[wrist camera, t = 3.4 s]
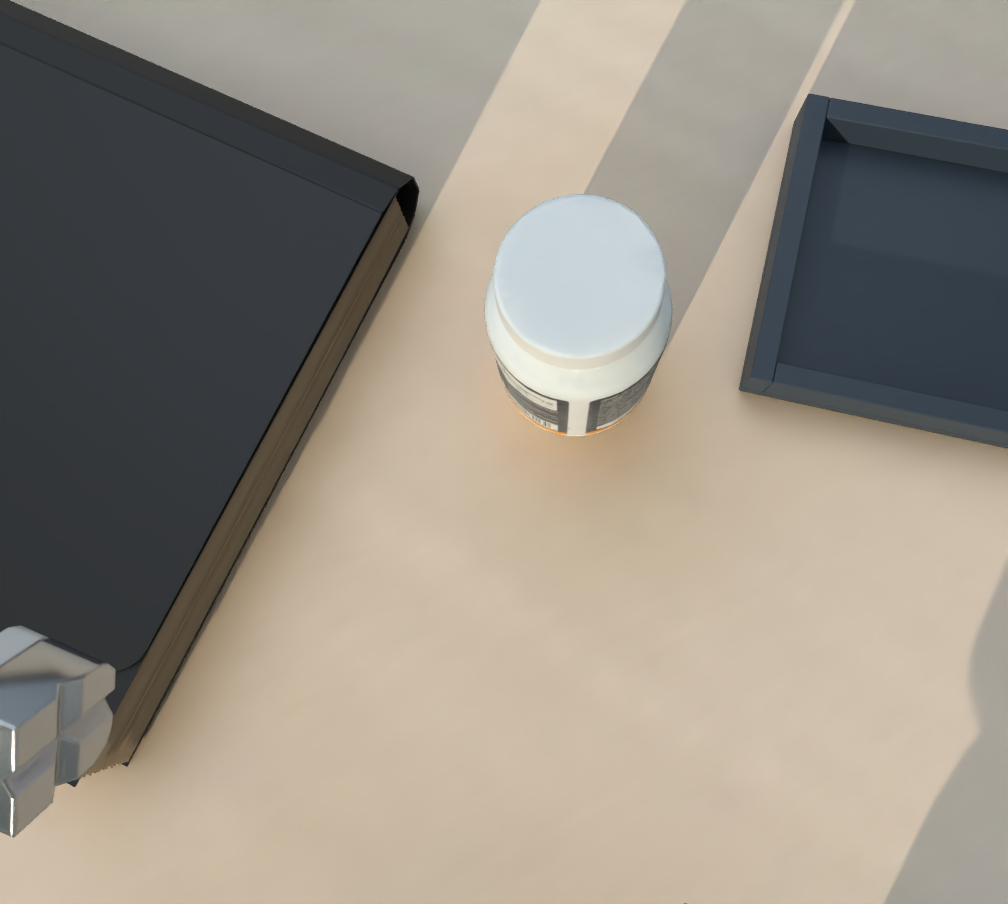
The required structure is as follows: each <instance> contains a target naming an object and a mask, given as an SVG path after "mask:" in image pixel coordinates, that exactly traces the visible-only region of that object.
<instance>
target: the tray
mask: <svg viewBox="0 0 1008 904" xmlns="http://www.w3.org/2000/svg"><path fill="white" fill-rule="evenodd" d="M739 390H740V391H744V392H749V393H754V394H758V395H763V396H768V397H772V398H777V399H781V400H786V401H791V402H795V403H800V404H805V405H809V406H814V407H819V408H823V409H828V410H832V411H837V412H842V413H846V414H851V415H856V416H860V417H865V418H869V419H874V420H879V421H883V422H888V423H893V424H897V425H902V426H906V427H911V428H916V429H920V430H925V431H930V432H934V433H939V434H943V435H948V436H953V437H957V438H962V439H967V440H971V441H976V442H980V443H985V444H990V445H994V446H999V447H1004V448H1008V130H1005V129H1000V128H994V127H989V126H983V125H978V124H972V123H967V122H961V121H956V120H950V119H945V118H939V117H934V116H928V115H923V114H917V113H912V112H906V111H901V110H895V109H890V108H884V107H879V106H873V105H868V104H862V103H857V102H851V101H845V100H840V99H834V98H830V99H829V97H825V96H819V95H814V94H808V96H807V98H806V99H805V101H804V103H803V105H802V107H801V109H800V111H799V113H798V115H797V117H796V119H795V121H794V125H793V129H792V134H791V139H790V144H789V149H788V154H787V159H786V163H785V168H784V173H783V178H782V183H781V188H780V192H779V197H778V202H777V207H776V212H775V217H774V222H773V226H772V231H771V236H770V241H769V246H768V251H767V256H766V260H765V265H764V270H763V275H762V280H761V285H760V290H759V294H758V299H757V304H756V309H755V314H754V319H753V324H752V328H751V333H750V338H749V343H748V348H747V353H746V358H745V362H744V367H743V372H742V377H741V382H740V387H739Z"/></svg>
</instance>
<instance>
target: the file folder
mask: <svg viewBox="0 0 1008 904" xmlns="http://www.w3.org/2000/svg"><path fill="white" fill-rule="evenodd" d="M418 195H419V187H418V185H417V183H416V181H415V179H414V177H412V176H410V175H408V174H406V173H403V172H401V171H399V170H396V169H394V168H392V167H390V166H387V165H385V164H383V163H380V162H378V161H376V160H374V159H371V158H369V157H367V156H364V155H362V154H360V153H358V152H355V151H353V150H351V149H348V148H346V147H344V146H341V145H339V144H337V143H335V142H332V141H330V140H328V139H325V138H323V137H321V136H319V135H316V134H314V133H312V132H309V131H307V130H305V129H303V128H300V127H298V126H296V125H293V124H291V123H289V122H287V121H284V120H282V119H280V118H277V117H275V116H273V115H271V114H268V113H266V112H264V111H261V110H259V109H257V108H254V107H252V106H250V105H248V104H245V103H243V102H241V101H238V100H236V99H234V98H232V97H229V96H227V95H225V94H222V93H220V92H218V91H216V90H213V89H211V88H209V87H206V86H204V85H202V84H200V83H197V82H195V81H193V80H190V79H188V78H186V77H183V76H181V75H179V74H177V73H174V72H172V71H170V70H167V69H165V68H163V67H161V66H158V65H156V64H154V63H151V62H149V61H147V60H145V59H142V58H140V57H138V56H135V55H133V54H131V53H129V52H126V51H124V50H122V49H119V48H117V47H115V46H113V45H110V44H108V43H106V42H103V41H101V40H99V39H96V38H94V37H92V36H90V35H87V34H85V33H83V32H80V31H78V30H76V29H74V28H71V27H69V26H67V25H64V24H62V23H60V22H58V21H55V20H53V19H51V18H48V17H46V16H44V15H42V14H39V13H37V12H35V11H32V10H30V9H28V8H26V7H23V6H21V5H19V4H16V3H14V2H12V1H10V0H0V632H1V631H3V630H5V629H6V628H8V627H14V626H20V625H22V626H24V627H26V628H28V629H30V630H33V631H35V632H37V633H39V634H41V635H44V636H46V637H48V638H52V639H54V640H57V641H59V642H61V643H63V644H65V645H68V646H70V647H72V648H74V649H77V650H79V651H81V652H83V653H85V654H88V655H90V656H92V657H94V658H97V659H99V660H101V661H103V662H106V663H108V664H109V665H111V666H112V667H113V668H114V669H116V671H115V689H114V690H113V691H112V692H110V693H109V694H108V695H107V696H106V697H105V699H106V701H107V703H108V705H109V707H110V709H111V711H112V713H113V720H112V729H111V732H110V735H109V738H108V741H107V744H106V746H105V747H104V749H103V750H102V752H101V753H100V755H99V756H98V758H97V759H96V761H95V763H94V764H93V765H92V766H91V767H90V768H89V769H88V770H87V771H86V772H85V773H84V774H83V775H82V776H81V777H85V775H86V774H87V775H90V776H91V774H92V773H96V772H99V771H101V769H103V770H105V769H107V768H108V766H109V767H111V768H113V766H116V764H118V765H119V764H120V763H121V764H123V765H125V766H126V767H127V766H128V764H129V762H130V761H131V759H132V757H133V755H134V753H135V751H136V749H137V747H138V745H139V743H140V742H141V740H142V738H143V736H144V734H145V732H146V730H147V728H148V726H149V725H150V723H151V721H152V719H153V717H154V715H155V713H156V711H157V709H158V707H159V706H160V704H161V702H162V700H163V698H164V696H165V694H166V692H167V690H168V689H169V687H170V685H171V683H172V681H173V679H174V677H175V675H176V673H177V672H178V670H179V668H180V666H181V664H182V662H183V660H184V658H185V656H186V654H187V653H188V651H189V649H190V647H191V645H192V643H193V641H194V639H195V637H196V636H197V634H198V632H199V630H200V628H201V626H202V624H203V622H204V620H205V618H206V617H207V615H208V613H209V611H210V609H211V607H212V605H213V603H214V601H215V600H216V598H217V596H218V594H219V592H220V590H221V588H222V586H223V584H224V582H225V581H226V579H227V577H228V575H229V573H230V571H231V569H232V567H233V565H234V564H235V562H236V560H237V558H238V556H239V554H240V552H241V550H242V548H243V546H244V545H245V543H246V541H247V539H248V537H249V535H250V533H251V531H252V529H253V528H254V526H255V524H256V522H257V520H258V518H259V516H260V514H261V512H262V510H263V509H264V507H265V505H266V503H267V501H268V499H269V497H270V495H271V493H272V492H273V490H274V488H275V486H276V484H277V482H278V480H279V478H280V476H281V475H282V473H283V471H284V469H285V467H286V465H287V463H288V461H289V459H290V457H291V456H292V454H293V452H294V450H295V448H296V446H297V444H298V442H299V440H300V439H301V437H302V435H303V433H304V431H305V429H306V427H307V425H308V423H309V422H310V420H311V418H312V416H313V414H314V412H315V410H316V408H317V406H318V404H319V403H320V401H321V399H322V397H323V395H324V393H325V391H326V389H327V387H328V386H329V384H330V382H331V380H332V378H333V376H334V374H335V372H336V370H337V369H338V367H339V365H340V363H341V361H342V359H343V357H344V355H345V353H346V351H347V350H348V348H349V346H350V344H351V342H352V340H353V338H354V336H355V334H356V333H357V331H358V329H359V327H360V325H361V323H362V321H363V319H364V317H365V315H366V314H367V312H368V310H369V308H370V306H371V304H372V302H373V300H374V298H375V297H376V295H377V293H378V291H379V289H380V287H381V285H382V283H383V281H384V280H385V278H386V276H387V274H388V272H389V270H390V268H391V266H392V264H393V262H394V261H395V259H396V257H397V255H398V253H399V251H400V249H401V247H402V245H403V244H404V242H405V239H406V237H407V234H408V231H409V229H410V226H411V223H412V221H413V218H414V215H415V212H416V206H417V200H418ZM81 777H80V778H79V779H81ZM79 779H77V780H74V781H71V782H67V783H68V784H70V785H72V786H73V787H76V785H77V783H78V781H79Z"/></svg>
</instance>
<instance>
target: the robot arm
mask: <svg viewBox="0 0 1008 904" xmlns="http://www.w3.org/2000/svg"><path fill="white" fill-rule="evenodd" d="M115 671H116V669H114V668H113V667H112V666H111V665H109V664H108V663H106V662H103V661H101V660H99V659H97V658H94V657H92V656H90V655H88V654H85V653H83V652H81V651H79V650H77V649H74V648H72V647H70V646H68V645H65V644H63V643H61V642H59V641H57V640H54V639H52V638H48V637H46V636H44V635H41V634H39V633H37V632H35V631H33V630H30V629H28V628H26V627H24V626H22V625H20V626H14V627H8V628H6V629H5V630H3V631H1V632H0V832H2V833H4V834H7V835H9V836H11V837H15V836H16V835H17V834H18V833H20V832H21V831H22V830H23V829H24V828H25V827H26V826H27V825H28V824H29V823H30V822H32V821H33V820H34V819H35V818H36V817H37V816H38V815H39V814H40V813H41V812H43V811H44V810H45V809H46V808H47V807H48V806H49V805H50V804H51V803H52V802H53V798H54V792H55V786H58V785H61V784H64V783H67V782H71V781H74V780H77V779H79V778H80V777H81V776H82V775H83V774H84V773H85V772H86V771H87V770H88V769H89V768H90V767H91V766H92V765H93V764H94V763H95V761H96V759H97V758H98V756H99V755H100V753H101V752H102V750H103V749H104V747H105V746H106V744H107V741H108V738H109V735H110V732H111V729H112V720H113V713H112V711H111V709H110V707H109V705H108V703H107V701H106V699H105V697H106V696H107V695H108V694H109V693H110V692H112V691H113V690H114V689H115ZM684 904H686V903H684Z"/></svg>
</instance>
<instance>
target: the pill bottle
mask: <svg viewBox="0 0 1008 904" xmlns="http://www.w3.org/2000/svg"><path fill="white" fill-rule="evenodd" d="M484 317H485V322H486V327H487V332H488V336H489V340H490V343H491V346H492V349H493V352H494V355H495V358H496V362H497V366H498V369H499V372H500V376H501V379H502V382H503V385H504V388H505V390H506V392H507V394H508V396H509V398H510V399H511V401H512V403H513V404H514V405H515V407H516V408H517V409H518V410H519V412H520V413H521V414H522V415H523V416H525V417H526V418H527V419H528V420H529V421H531V422H532V423H534V424H535V425H537V426H539V427H540V428H542V429H544V430H547V431H550V432H553V433H556V434H561V435H566V436H586V435H592V434H596V433H599V432H602V431H605V430H607V429H609V428H611V427H613V426H615V425H616V424H618V423H620V422H621V421H622V420H624V419H625V418H626V417H627V416H628V415H629V414H630V413H631V412H632V411H633V410H634V409H635V407H636V406H637V405H638V403H639V402H640V400H641V399H642V397H643V396H644V394H645V392H646V390H647V388H648V386H649V384H650V381H651V379H652V376H653V374H654V372H655V369H656V367H657V365H658V362H659V360H660V357H661V355H662V353H663V351H664V348H665V346H666V343H667V340H668V337H669V333H670V328H671V322H672V302H671V294H670V290H669V286H668V283H667V280H666V266H665V260H664V256H663V252H662V249H661V246H660V244H659V242H658V240H657V238H656V236H655V235H654V233H653V232H652V230H651V229H650V227H649V226H648V225H647V224H646V222H645V221H644V220H643V219H642V218H641V217H640V216H639V215H637V214H636V213H635V212H634V211H632V210H631V209H629V208H628V207H626V206H624V205H622V204H621V203H619V202H616V201H614V200H611V199H608V198H604V197H601V196H595V195H586V194H575V195H567V196H562V197H557V198H554V199H551V200H549V201H546V202H543V203H541V204H540V205H538V206H536V207H534V208H533V209H531V210H530V211H528V212H527V213H526V214H524V215H523V216H522V217H521V218H520V219H519V220H518V221H517V222H516V223H515V224H514V225H513V226H512V228H511V229H510V230H509V232H508V233H507V234H506V236H505V238H504V239H503V241H502V244H501V245H500V248H499V251H498V254H497V257H496V260H495V265H494V271H493V273H492V276H491V278H490V281H489V284H488V288H487V292H486V297H485V306H484Z"/></svg>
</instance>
